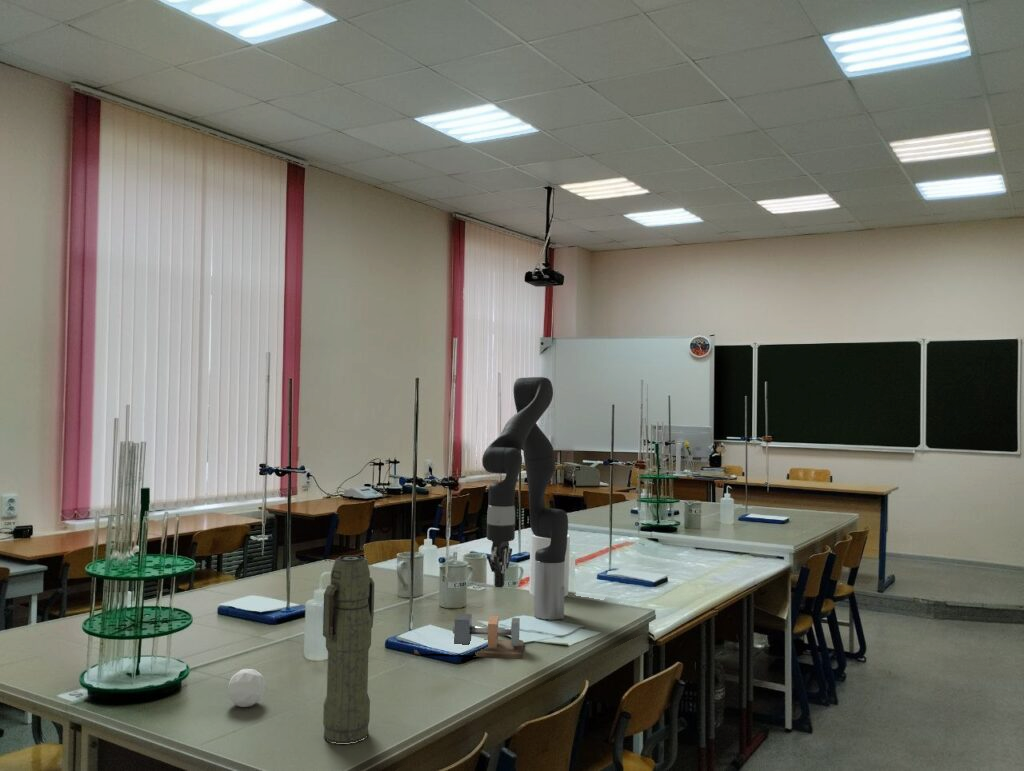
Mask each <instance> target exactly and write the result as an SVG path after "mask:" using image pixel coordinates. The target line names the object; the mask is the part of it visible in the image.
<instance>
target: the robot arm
mask: <svg viewBox="0 0 1024 771" xmlns="http://www.w3.org/2000/svg"><path fill="white" fill-rule="evenodd" d="M553 388H554V387H553V385H552V381H551V380H550V379H549V378H547V377H543V376H539V377H538V376H532V377H530V376H529V377H518V378H517V379H516V380H515V381H514V383H513V400H514V405H515V410H516V413H515V414H514V415H513V416H512V417H511V418H510V419H508V421H507V422H506V424H505V426H504V427H503V429H502V431H501V433H500V435H499V436H497V437H496V439H494V440H493V441H492V443H490V444H489V445H488V446H487V447H486V448H485V451H483V455H482V459H481V462H482V463H481V464H482V467H483V468H484V469H483V470H485V471H486V472H487V473H491V474H500V475H501V474H502V475H505V478H504V479H503V480H502V481H498V482H497V481H496V482H492V483H490V484H489V487H488V501H487V502H488V503H487V504H488V505H487V506H488V507H487V511H486V513H487V515H486V539H487V540H488V541H491V543H492V545H491V549H490V552H491V553H490V554H488V555H487V560H488V564H489V567H490V570H491V573H494V587H495V588H503V587H504V586H505V576H506V574H505V573H506V572H507V569H509V565H510V562H511V557H512V553H513V548H511V547H510V542H512V541H514V540H515V539H516V538H515V537H516V536H515V535H516V509H515V498H516V496H515V494H516V493H515V492H516V487H517V481H518V478H519V475H520V472H521V469H522V464H523V461H524V468H525V472H526V480H527V489H528V502H529V503H528V504H529V523H530V529H531V532H532V533H533V534H534V535H535V536H537V537H543V538H550V539H551V542H550V545H549V546H548V547H546V548H542V549H539V550H537V551H536V553H535V590H534V595H533V598H534V600H533V616H534V617H535V618H537V619H540V618H541V620H546V619H548V621H551V620H553V621H554V620H555V621H556V620H561V619H562V620H564V619H565V596H564V590H565V588H564V577H565V554H566V549H567V535H569V534H568V532H569V517H568V513H567V512H566V511H565V510H564V509H559V508H553V507H552V508H551V507H546V504H545V503H546V501H545V495H546V494H545V493H546V490H547V488H548V485H549V484H550V482H551V480H552V478H553V476H554V473H555V471H556V460H555V459H556V458H555V451H554V447H553V445H552V442H551V441H550V440H549V438H548V437H547V436H546V435H545V433H544V432H543V431H542V429H541V428H540V426H538V424H537V422H538V421H539V420H540V418H541V417H542V416H543V415H544V413H545V412H546V410H547V409H548V408H549V406H550V404H551V402H552V400H553V396H554V389H553ZM522 450H523V455H522V453H521V451H522Z"/></svg>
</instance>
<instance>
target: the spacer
mask: <svg viewBox="0 0 1024 771" xmlns="http://www.w3.org/2000/svg"><path fill="white" fill-rule="evenodd" d="M487 627H488V635H487V639H488V646H496V647H497V640H498V639H499V635H497V628H498V627H499V615H489V617H488V622H487Z"/></svg>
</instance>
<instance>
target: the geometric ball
mask: <svg viewBox="0 0 1024 771" xmlns="http://www.w3.org/2000/svg"><path fill="white" fill-rule="evenodd" d="M265 689H266V680H265V679H264V677H263V675H262V674H261V673H260V672H258V671H257V670H256V669H254V668H242V669H241V670H239V671H237V672H236V673H234V674H233V675H232V676H231V679H230V681H229V683H228V686H227V696H228V697H229V700H230V701H231V702H232V704H234V705H236V706H237V707H239V708H240V707H241V708H248V707H249V708H250V707H252V706H254V705H255V704H257V703H258V702H259V701H261V700H262V698H263V695H264V693H265Z"/></svg>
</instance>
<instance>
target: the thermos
mask: <svg viewBox="0 0 1024 771" xmlns="http://www.w3.org/2000/svg"><path fill="white" fill-rule="evenodd" d="M370 574H371V572H370V568H369V563H368V561H367V559H366V558H365V557H363V556H362V555H361V556H360V555H356V554H355V555H342V556H339V557H338V558H335V561H334V563H333V566H332V568H331V572H330V584H329V585H328V586H327V587H326V589H325V591H324V592H323V612H322V613H323V614H322V615H323V616H322V617H323V619H322V620H323V621H322V636H323V637H324V638H325V648H326V651H327V675H326V676H327V679H326V697H325V699H324V702H323V717H322V718H323V719H322V720H323V721H322V723H323V727H324V728H323V729H324V730H323V739H324V738H325V739H326V740H328V741H330V742H336V743H350V742H356V741H359V740H361V739H363V738H365V737H366V736H367V735H368V736H369V723H370V718H371V717H370V715H371V714H370V712H371V711H370V710H371V708H370V707H371V703H370V702H371V700H370V696H369V693H368V685H369V684H368V682H369V681H368V680H369V650H370V648H371V645H372V628H373V627H374V615H375V614H374V613H375V612H374V611H375V610H374V609H375V581H374V580H373V577H370V576H371V575H370ZM325 739H324V740H325ZM326 740H325V741H326Z"/></svg>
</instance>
